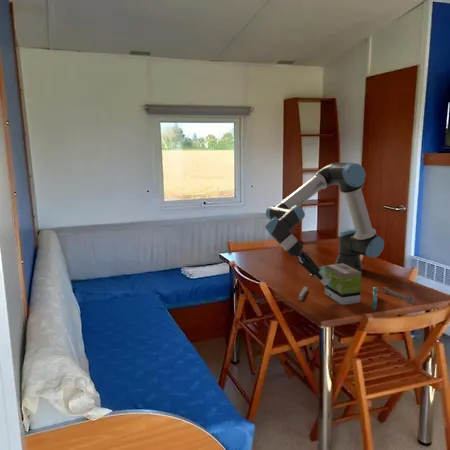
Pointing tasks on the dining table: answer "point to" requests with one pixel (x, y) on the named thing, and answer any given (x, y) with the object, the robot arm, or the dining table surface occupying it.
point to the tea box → (343, 283)
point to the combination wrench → (399, 295)
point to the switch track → (374, 305)
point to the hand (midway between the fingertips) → (327, 283)
